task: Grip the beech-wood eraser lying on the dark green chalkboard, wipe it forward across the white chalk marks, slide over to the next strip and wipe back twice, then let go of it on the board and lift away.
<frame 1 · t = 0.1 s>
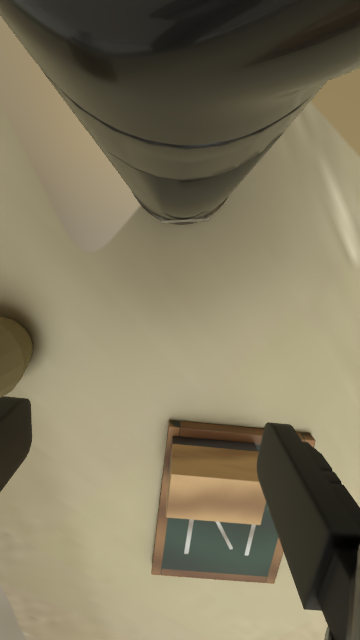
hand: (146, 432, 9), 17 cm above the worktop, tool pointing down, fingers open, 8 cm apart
chalkboard: (225, 503, 31), on the worktop
squeeze bottle: (6, 343, 26), on the worktop
eraser: (210, 458, 28), point 1 cm above the worktop, touching chalkboard
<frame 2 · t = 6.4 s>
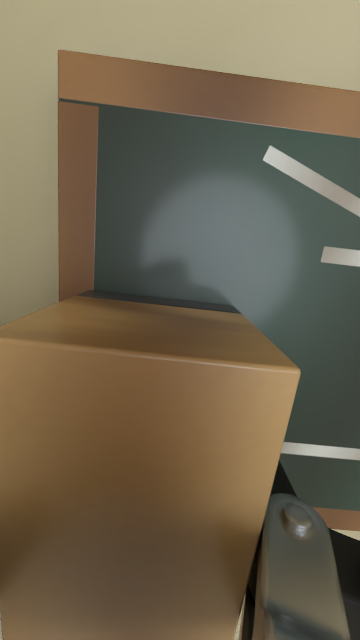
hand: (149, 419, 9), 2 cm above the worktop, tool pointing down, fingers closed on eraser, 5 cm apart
chalkboard: (343, 348, 10), on the worktop
eraser: (151, 413, 10), point 1 cm above the worktop, touching chalkboard, gripper
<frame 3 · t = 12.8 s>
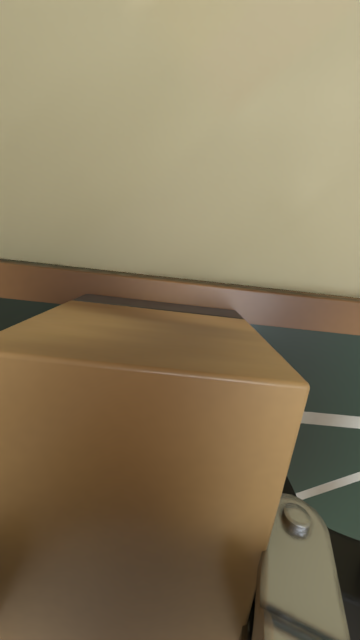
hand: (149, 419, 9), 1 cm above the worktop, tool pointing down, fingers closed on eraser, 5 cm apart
chalkboard: (228, 464, 12), on the worktop
eraser: (150, 420, 10), point 1 cm above the worktop, touching gripper
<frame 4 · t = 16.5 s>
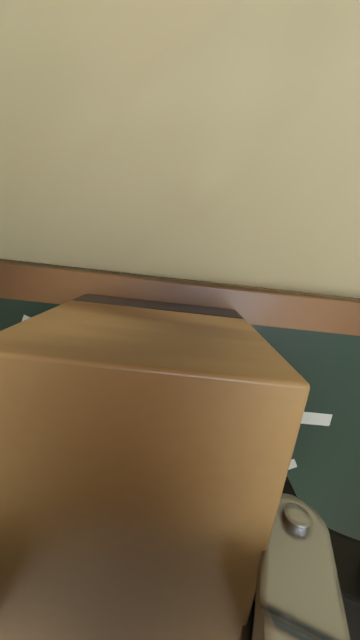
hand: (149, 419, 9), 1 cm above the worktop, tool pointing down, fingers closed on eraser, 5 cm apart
chalkboard: (154, 457, 11), on the worktop
eraser: (150, 419, 10), point 1 cm above the worktop, touching gripper
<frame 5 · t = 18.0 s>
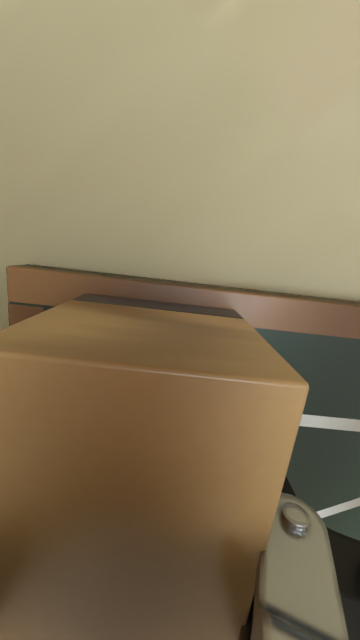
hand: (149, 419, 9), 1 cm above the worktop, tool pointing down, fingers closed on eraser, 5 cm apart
chalkboard: (279, 470, 12), on the worktop
eraser: (149, 419, 10), point 1 cm above the worktop, touching gripper
when the fingers open (1 cm above the worktop, at t = 19.4 s): eraser stays where it is, resting on chalkboard.
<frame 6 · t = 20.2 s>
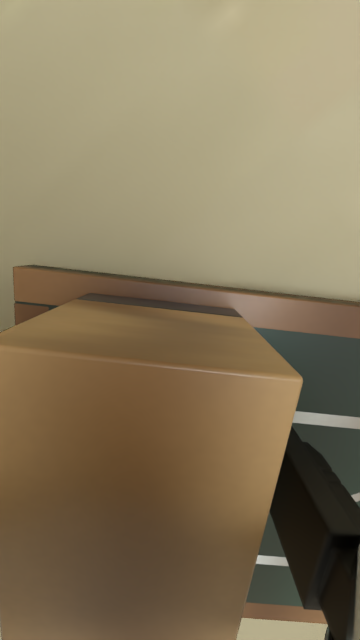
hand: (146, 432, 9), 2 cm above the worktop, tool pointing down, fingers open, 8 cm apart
chalkboard: (277, 467, 12), on the worktop
eraser: (151, 416, 10), point 1 cm above the worktop, touching chalkboard
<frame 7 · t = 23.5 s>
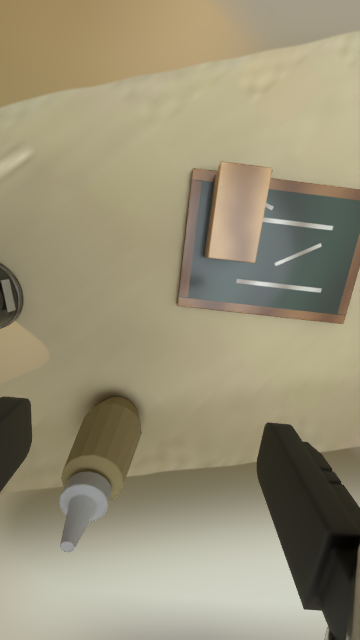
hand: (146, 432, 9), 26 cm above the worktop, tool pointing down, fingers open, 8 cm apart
chalkboard: (270, 252, 33), on the worktop
squeeze bottle: (118, 412, 38), on the worktop
eraser: (229, 220, 30), point 1 cm above the worktop, touching chalkboard
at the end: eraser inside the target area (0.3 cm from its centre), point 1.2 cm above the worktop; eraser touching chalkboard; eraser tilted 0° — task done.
